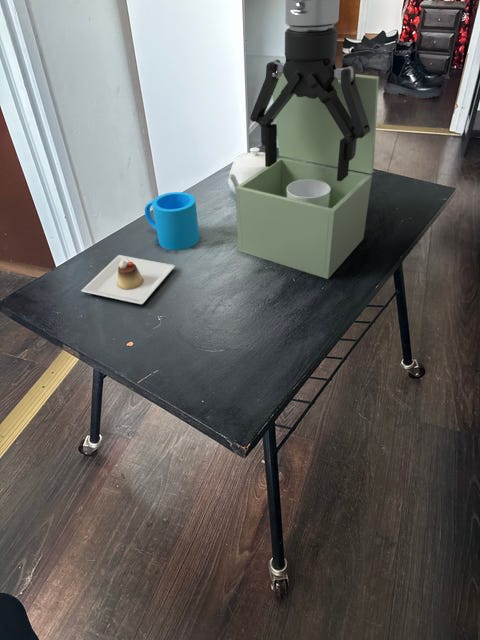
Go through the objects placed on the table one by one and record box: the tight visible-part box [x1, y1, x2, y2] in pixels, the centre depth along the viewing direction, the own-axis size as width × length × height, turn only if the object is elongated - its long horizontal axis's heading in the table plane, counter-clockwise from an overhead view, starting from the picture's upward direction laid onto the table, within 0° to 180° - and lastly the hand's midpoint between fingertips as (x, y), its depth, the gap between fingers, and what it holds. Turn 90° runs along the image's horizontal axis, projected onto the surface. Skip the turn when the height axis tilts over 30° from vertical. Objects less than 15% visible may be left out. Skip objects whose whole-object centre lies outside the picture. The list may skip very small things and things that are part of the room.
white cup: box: [286, 179, 331, 207], centre depth 88 cm, size 8×8×10 cm
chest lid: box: [272, 73, 380, 175], centre depth 82 cm, size 16×19×6 cm
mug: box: [144, 191, 200, 251], centre depth 93 cm, size 12×8×8 cm
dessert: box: [80, 254, 176, 305], centre depth 82 cm, size 12×12×5 cm
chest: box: [235, 156, 373, 280], centre depth 87 cm, size 16×19×13 cm
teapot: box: [227, 146, 266, 195], centre depth 106 cm, size 20×12×10 cm, turn 148°
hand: (305, 171), depth 81 cm, fingers open, 13 cm apart
